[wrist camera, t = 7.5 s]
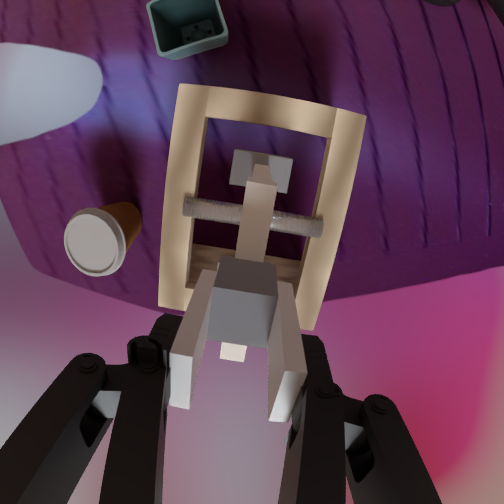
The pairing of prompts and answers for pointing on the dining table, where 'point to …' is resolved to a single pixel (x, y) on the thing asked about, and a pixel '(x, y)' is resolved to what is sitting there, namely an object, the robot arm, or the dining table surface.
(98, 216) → the disposable coffee cup
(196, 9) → the flower pot
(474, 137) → the dining table surface
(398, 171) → the dining table surface
